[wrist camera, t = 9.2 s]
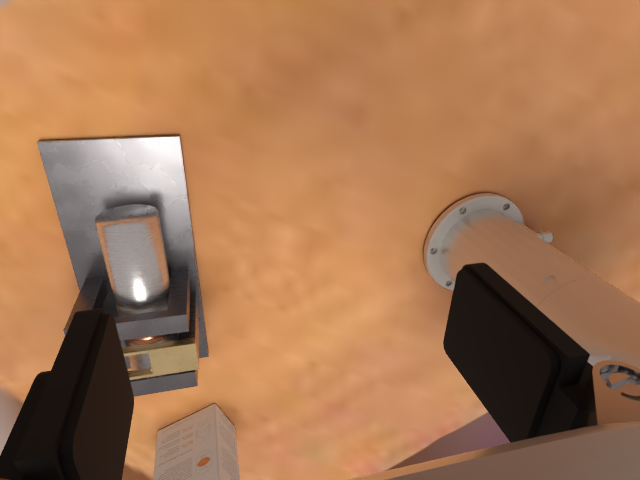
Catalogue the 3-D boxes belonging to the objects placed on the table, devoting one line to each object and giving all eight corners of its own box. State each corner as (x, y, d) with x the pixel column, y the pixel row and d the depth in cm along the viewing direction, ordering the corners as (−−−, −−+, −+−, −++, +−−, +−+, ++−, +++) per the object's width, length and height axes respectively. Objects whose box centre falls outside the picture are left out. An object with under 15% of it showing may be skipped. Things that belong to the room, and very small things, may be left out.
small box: (180, 453, 56) (176, 539, 47) (156, 429, 53) (147, 516, 44) (236, 426, 56) (243, 506, 47) (216, 401, 53) (219, 481, 44)
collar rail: (179, 134, 38) (174, 165, 30) (208, 352, 49) (210, 414, 42) (39, 140, 35) (-5, 175, 28) (104, 368, 47) (86, 437, 39)
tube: (89, 211, 37) (99, 234, 33) (150, 199, 40) (166, 219, 36) (128, 367, 45) (140, 399, 42) (176, 349, 48) (191, 378, 44)
